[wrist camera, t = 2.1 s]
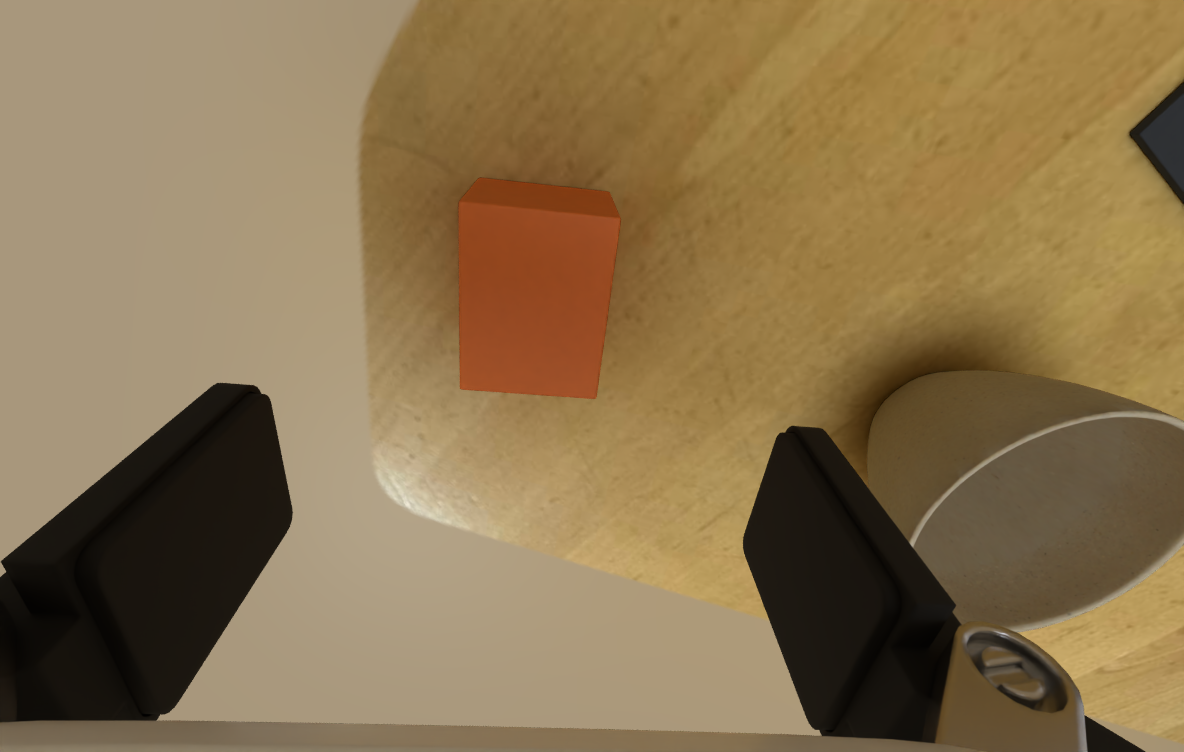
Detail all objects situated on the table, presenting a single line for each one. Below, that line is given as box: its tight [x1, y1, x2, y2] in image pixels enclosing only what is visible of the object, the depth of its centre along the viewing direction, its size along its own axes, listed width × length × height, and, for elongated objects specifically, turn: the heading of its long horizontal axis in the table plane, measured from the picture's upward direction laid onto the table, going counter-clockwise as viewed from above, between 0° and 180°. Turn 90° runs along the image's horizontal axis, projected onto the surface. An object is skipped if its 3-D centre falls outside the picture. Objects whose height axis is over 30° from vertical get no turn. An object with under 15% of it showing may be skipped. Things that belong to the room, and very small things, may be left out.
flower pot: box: [867, 370, 1184, 632], centre depth 21 cm, size 10×10×7 cm
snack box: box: [458, 178, 621, 399], centre depth 18 cm, size 6×4×4 cm
